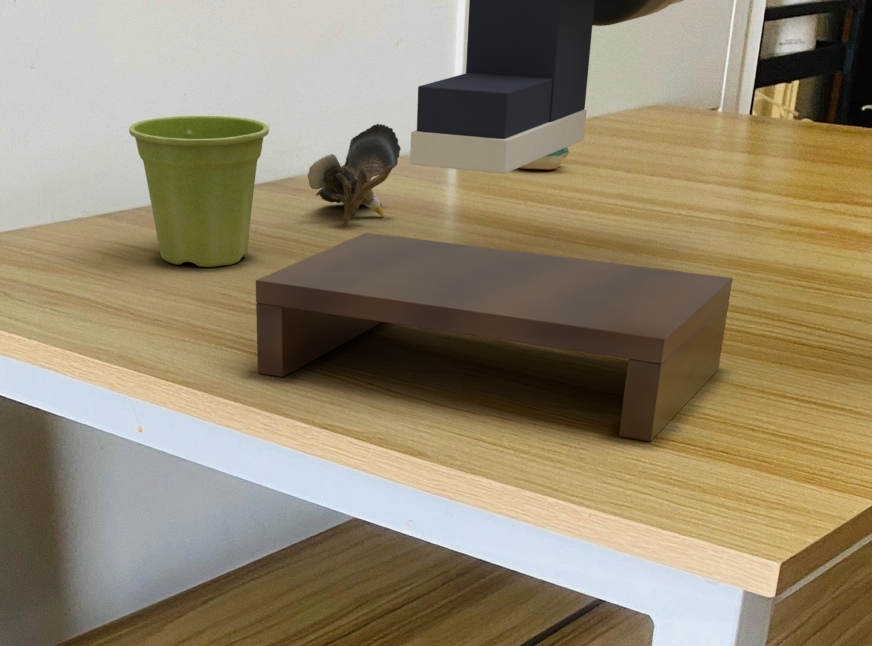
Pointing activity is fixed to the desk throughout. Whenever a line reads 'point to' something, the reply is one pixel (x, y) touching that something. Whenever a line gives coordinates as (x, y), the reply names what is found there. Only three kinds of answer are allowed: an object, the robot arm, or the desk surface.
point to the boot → (509, 88)
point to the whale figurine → (548, 160)
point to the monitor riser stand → (504, 311)
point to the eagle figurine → (357, 171)
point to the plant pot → (201, 184)
